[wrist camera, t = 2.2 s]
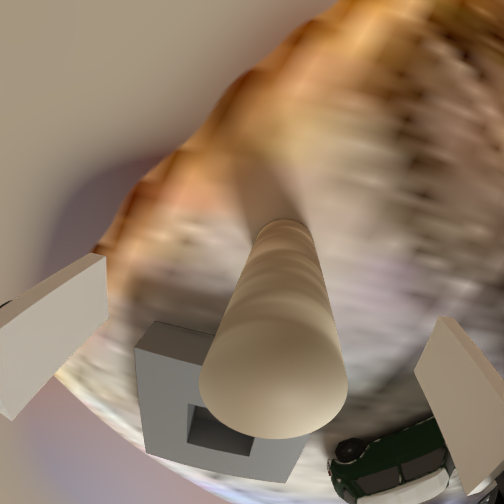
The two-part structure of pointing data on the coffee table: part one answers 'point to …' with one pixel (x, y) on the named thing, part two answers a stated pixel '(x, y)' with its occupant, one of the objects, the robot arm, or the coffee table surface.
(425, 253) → the coffee table surface
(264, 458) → the socket block
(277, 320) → the peg
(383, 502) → the miniature car
